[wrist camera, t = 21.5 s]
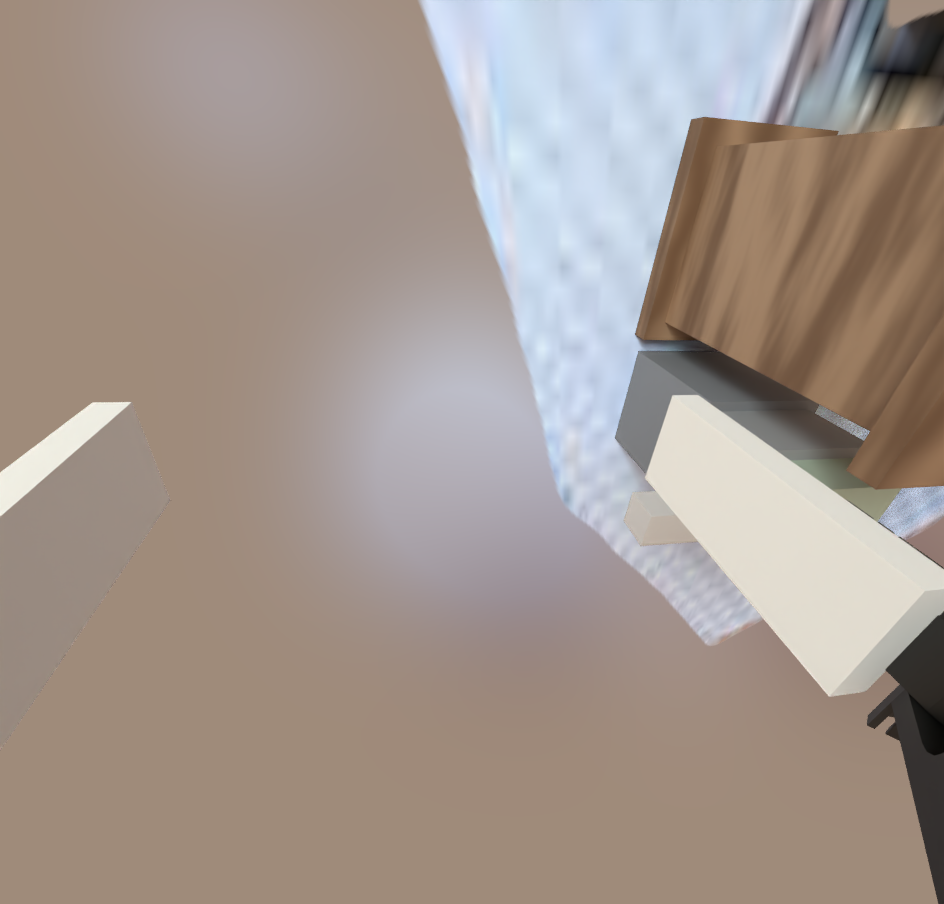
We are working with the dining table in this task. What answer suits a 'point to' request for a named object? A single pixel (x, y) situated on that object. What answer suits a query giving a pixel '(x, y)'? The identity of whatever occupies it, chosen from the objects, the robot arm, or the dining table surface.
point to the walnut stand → (817, 275)
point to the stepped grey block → (725, 406)
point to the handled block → (662, 525)
